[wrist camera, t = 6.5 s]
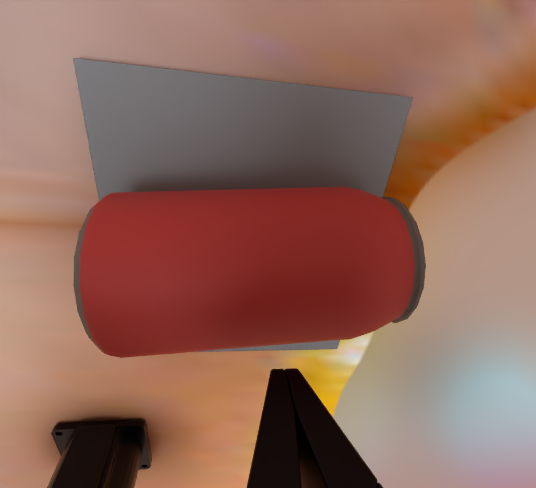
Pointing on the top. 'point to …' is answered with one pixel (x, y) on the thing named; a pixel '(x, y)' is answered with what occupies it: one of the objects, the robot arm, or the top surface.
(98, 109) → the mat
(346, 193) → the beer can
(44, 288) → the top surface
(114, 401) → the top surface
